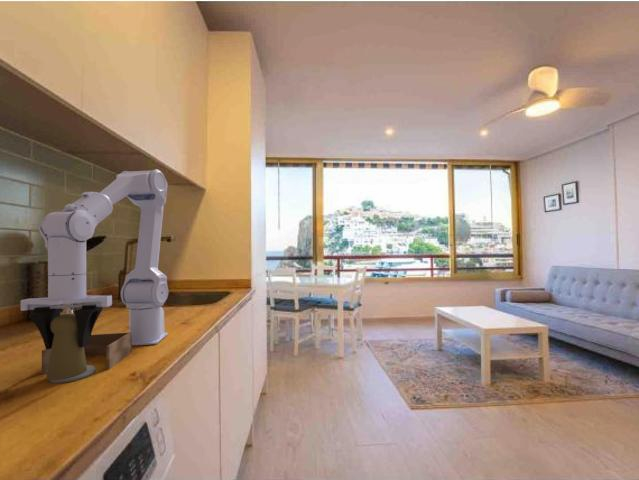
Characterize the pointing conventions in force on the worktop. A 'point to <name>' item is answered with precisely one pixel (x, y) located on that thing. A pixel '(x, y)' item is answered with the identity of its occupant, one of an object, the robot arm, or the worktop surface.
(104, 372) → the worktop surface
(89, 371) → the coaster
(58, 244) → the robot arm
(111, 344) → the open wooden enclosure
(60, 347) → the pepper mill
